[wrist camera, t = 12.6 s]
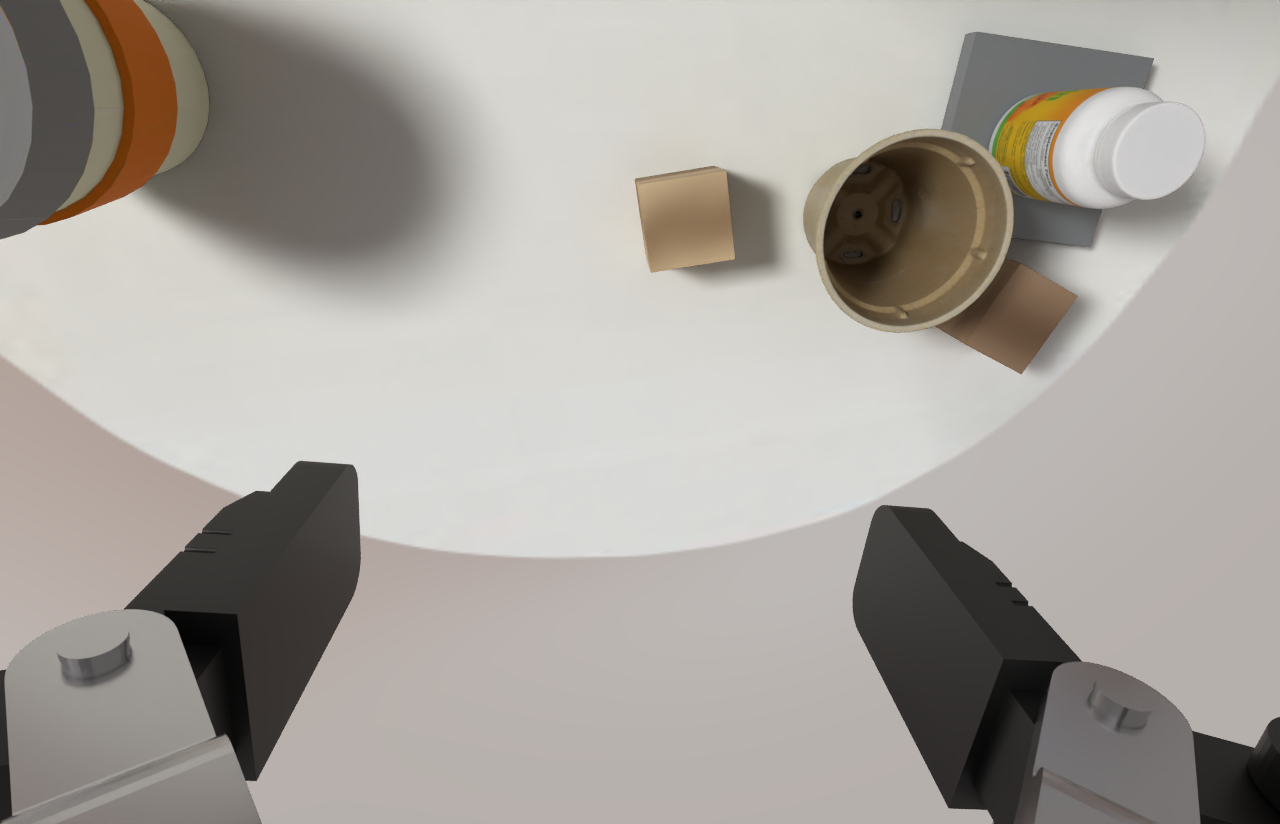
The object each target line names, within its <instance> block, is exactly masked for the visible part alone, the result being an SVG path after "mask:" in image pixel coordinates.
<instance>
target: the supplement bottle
mask: <svg viewBox="0 0 1280 824" xmlns="http://www.w3.org/2000/svg"><path fill="white" fill-rule="evenodd" d="M1204 147H1205V130H1204V126H1203V123H1202V121H1201V119H1200V117H1199V116H1198V114H1197V113H1196V112H1195V111H1194V110H1193V109H1192V108H1190V107H1188V106H1186V105H1184V104H1181V103H1177V102H1164V101H1163V100H1162V99H1161V98H1160V97H1159V96H1157V95H1156V94H1154V93H1152V92H1150V91H1148V90H1145V89H1142V88H1136V87H1111V88H1097V89H1082V90H1070V91H1057V92H1046V93H1039V94H1035V95H1032V96H1029V97H1027V98H1025V99H1023V100H1021V101H1019V102H1018V103H1016V104H1015V105H1014V106H1012V107H1011V108H1010V109H1009V110H1008V111H1007V112H1006V113H1005V114H1004V115H1003V117H1002V118H1001V119H1000V121H999V122H998V124H997V126H996V127H995V130H994V132H993V134H992V137H991V141H990V144H989V152H990V153H991V154H992V155H993V157H994V158H995V159H996V160H997V161H998V163H999V164H1000V166H1001V168H1002V169H1003V171H1004V173H1005V176H1006V178H1007V182H1008V185H1009V187H1010V190H1011V193H1012V194H1014V195H1017V196H1021V197H1025V198H1031V199H1037V200H1043V201H1049V202H1055V203H1061V204H1067V205H1073V206H1078V207H1085V208H1094V209H1108V208H1114V207H1118V206H1122V205H1125V204H1127V203H1129V202H1132V201H1133V200H1135V199H1138V200H1152V199H1157V198H1161V197H1164V196H1166V195H1168V194H1170V193H1172V192H1174V191H1175V190H1177V189H1178V188H1180V187H1181V186H1182V185H1183V184H1184V183H1185V182H1186V181H1187V180H1188V179H1189V178H1190V177H1191V175H1192V174H1193V173H1194V171H1195V170H1196V168H1197V166H1198V164H1199V163H1200V160H1201V158H1202V155H1203V152H1204Z"/></svg>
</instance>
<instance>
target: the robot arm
mask: <svg viewBox="0 0 1280 824" xmlns="http://www.w3.org/2000/svg"><path fill="white" fill-rule="evenodd" d="M360 555H361V552H360V525H359V499H358V478H357V473H356V469H355V467H354V466H353V465H350V464H336V463H323V462H309V461H299V462H297V463H296V464H295V465H294V466H293V467H292V468H291V469H290V470H289V471H288V472H287V474H286V475H285V476H284V477H283V478H282V479H281V480H280V481H279V482H278V484H277V485H276V486H275V487H274V488H273V489H272V490H271V491H270V492H264V491H255V492H253V493H251V494H249V495H247V496H245V497H243V498H241V499H240V500H238V501H236V502H234V503H232V504H230V505H228V506H226V507H224V508H223V509H222V510H221V511H220V512H219V513H218V514H217V515H216V516H215V517H214V518H213V519H212V520H211V521H210V522H209V523H208V524H207V525H206V526H205V527H204V528H203V531H202V533H198V534H197V535H196V536H195V537H194V538H193V539H192V540H191V541H190V542H189V543H188V544H187V545H186V546H185V551H184V552H179V554H178V555H177V556H176V557H175V558H174V559H173V560H172V561H171V562H170V563H169V564H168V565H167V566H166V567H165V568H164V569H163V570H162V571H161V572H160V573H159V574H158V575H157V576H156V577H155V578H154V579H153V580H152V581H151V582H150V583H149V584H148V585H147V586H146V587H145V588H144V589H143V590H142V591H141V592H140V593H139V594H138V595H137V596H136V597H135V599H133V600H132V601H131V602H130V604H128V605H127V607H125V608H124V609H123V610H113V611H107V612H101V613H97V614H92V615H88V616H85V617H81V618H78V619H75V620H72V621H70V622H67V623H65V624H63V625H60V626H58V627H56V628H54V629H52V630H50V631H48V632H46V633H44V634H42V635H41V636H39V637H37V638H36V639H35V640H33V641H32V642H30V643H29V644H28V645H26V646H25V647H24V648H23V649H22V650H21V651H20V652H19V653H18V654H17V655H16V656H15V657H14V658H13V660H12V661H11V662H10V664H9V666H8V668H7V669H6V670H1V671H0V824H262V823H261V820H260V818H259V815H258V812H257V810H256V807H255V804H254V802H253V799H252V796H251V794H250V791H249V789H248V786H247V783H246V781H257V779H258V777H259V775H260V773H261V771H262V769H263V767H264V766H265V764H266V762H267V760H268V758H269V756H270V754H271V752H272V750H273V748H274V746H275V744H276V743H277V741H278V739H279V737H280V735H281V733H282V731H283V729H284V727H285V725H286V723H287V721H288V719H289V718H290V716H291V714H292V712H293V710H294V708H295V706H296V704H297V703H298V701H299V699H300V697H301V695H302V693H303V691H304V689H305V687H306V685H307V683H308V682H309V680H310V678H311V676H312V674H313V672H314V670H315V668H316V666H317V664H318V662H319V661H320V659H321V657H322V655H323V652H324V651H325V649H326V647H327V645H328V643H329V641H330V640H331V638H332V636H333V634H334V632H335V630H336V628H337V626H338V624H339V622H340V620H341V619H342V617H343V615H344V613H345V611H346V609H347V607H348V605H349V603H350V601H351V599H352V597H353V595H354V592H355V589H356V586H357V582H358V577H359V571H360V560H361V556H360ZM853 615H854V620H855V624H856V627H857V629H858V631H859V633H860V635H861V637H862V639H863V641H864V643H865V645H866V647H867V649H868V651H869V653H870V655H871V657H872V659H873V661H874V662H875V665H876V667H877V669H878V671H879V673H880V674H881V676H882V678H883V680H884V682H885V684H886V686H887V688H888V690H889V692H890V694H891V696H892V698H893V700H894V702H895V704H896V706H897V708H898V710H899V712H900V714H901V716H902V718H903V720H904V721H905V723H906V726H907V727H908V729H909V731H910V733H911V735H912V737H913V739H914V741H915V743H916V745H917V747H918V749H919V751H920V753H921V755H922V757H923V759H924V761H925V763H926V764H927V767H928V769H929V770H930V772H931V774H932V776H933V778H934V780H935V782H936V784H937V786H938V788H939V790H940V792H941V794H942V796H943V798H944V800H945V802H946V804H947V806H948V808H953V809H982V810H988V812H989V813H990V815H991V817H992V819H993V823H992V824H1280V717H1278V718H1276V719H1273V720H1272V721H1271V722H1270V723H1269V724H1268V726H1267V727H1266V729H1265V731H1264V733H1263V735H1262V736H1261V738H1260V740H1259V742H1258V744H1257V745H1256V747H1255V748H1253V747H1249V746H1246V745H1242V744H1238V743H1234V742H1231V741H1227V740H1224V739H1220V738H1216V737H1212V736H1208V735H1205V734H1202V733H1198V732H1194V731H1192V729H1191V727H1190V725H1189V723H1188V721H1187V719H1186V718H1185V717H1184V715H1183V714H1182V713H1181V712H1180V711H1179V710H1178V709H1177V707H1176V706H1175V705H1173V703H1171V702H1170V701H1169V700H1168V699H1167V698H1166V697H1164V696H1163V695H1162V694H1160V693H1159V692H1158V691H1156V690H1155V689H1153V688H1152V687H1150V686H1148V685H1147V684H1145V683H1144V682H1142V681H1140V680H1138V679H1136V678H1134V677H1132V676H1130V675H1128V674H1126V673H1123V672H1121V671H1118V670H1116V669H1113V668H1110V667H1107V666H1103V665H1099V664H1094V663H1089V662H1082V661H1081V660H1080V659H1079V657H1078V656H1077V655H1076V654H1075V653H1074V652H1073V651H1072V650H1071V649H1070V647H1069V646H1068V645H1067V644H1066V643H1065V642H1064V641H1063V640H1062V639H1061V637H1060V636H1059V635H1058V634H1057V633H1056V632H1055V631H1054V630H1053V628H1052V627H1051V626H1050V625H1049V624H1048V623H1047V622H1046V621H1045V620H1044V619H1043V617H1042V616H1041V615H1040V614H1039V613H1038V612H1037V611H1036V610H1035V608H1034V607H1033V606H1028V601H1027V600H1026V598H1025V597H1024V596H1023V595H1022V594H1021V593H1020V592H1019V591H1018V590H1017V588H1014V587H1012V583H1011V582H1010V581H1009V580H1008V578H1007V577H1006V576H1005V575H1004V574H1003V573H1002V572H1001V571H1000V569H999V568H998V567H997V566H996V565H995V564H994V563H993V562H992V561H991V560H989V559H988V558H986V557H985V556H983V555H982V554H980V553H979V552H977V551H976V550H974V549H973V548H971V547H970V546H968V545H967V544H965V543H964V542H960V541H959V540H958V539H957V538H956V537H955V536H954V534H953V533H952V532H951V531H950V530H949V529H948V527H947V526H946V525H945V524H944V523H943V522H942V520H941V519H940V518H939V517H938V516H937V515H936V514H935V512H933V511H932V510H931V509H927V508H915V507H901V506H888V505H882V506H880V507H879V508H878V509H877V510H876V511H875V513H874V515H873V518H872V521H871V525H870V528H869V533H868V536H867V540H866V544H865V548H864V551H863V556H862V559H861V563H860V567H859V571H858V574H857V578H856V582H855V586H854V592H853Z"/></svg>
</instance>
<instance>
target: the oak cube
mask: <svg viewBox="0 0 1280 824" xmlns="http://www.w3.org/2000/svg"><path fill="white" fill-rule="evenodd" d="M635 184H636V191H637V198H638V205H639V212H640V218H641V225H642V232H643V239H644V246H645V253H646V259H647V262H648V265H649V268H650V271H651V273H652V272H658V271H664V270H670V269H677V268H683V267H689V266H695V265H702V264H708V263H714V262H720V261H727V260H733V259H735V253H734V243H733V233H732V223H731V213H730V203H729V193H728V183H727V173H726V170H723V169H721V168H718V167H715V166H710V167H704V168H698V169H692V170H686V171H680V172H673V173H667V174H661V175H655V176H649V177H642V178H636V179H635Z"/></svg>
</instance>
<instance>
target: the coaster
mask: <svg viewBox="0 0 1280 824" xmlns="http://www.w3.org/2000/svg"><path fill="white" fill-rule="evenodd" d="M1153 60H1154V58H1148V57H1141V56H1134V55H1128V54H1121V53H1114V52H1108V51H1101V50H1094V49H1088V48H1081V47H1075V46H1068V45H1061V44H1055V43H1048V42H1041V41H1035V40H1028V39H1022V38H1015V37H1008V36H1002V35H995V34H988V33H982V32H973V33H969V34H966V35H965V39H964V43H963V47H962V51H961V54H960V58H959V62H958V66H957V70H956V74H955V78H954V82H953V86H952V90H951V93H950V97H949V101H948V105H947V109H946V113H945V117H944V121H943V125H942V129H941V130H947V131H952V132H956V133H960V134H962V135H965V136H968V137H969V138H971V139H973V140H974V141H976V142H978V143H979V144H981V145H982V146H983V147H985V148H986V149H987V150H988V151H989V144H990V141H991V137H992V134H993V132H994V130H995V127H996V126H997V124H998V122H999V121H1000V119H1001V118H1002V117H1003V115H1004V114H1005V113H1006V112H1007V111H1008V110H1009V109H1010V108H1011V107H1012V106H1014V105H1015V104H1016V103H1018V102H1019V101H1021V100H1023V99H1025V98H1027V97H1029V96H1032V95H1035V94H1039V93H1046V92H1057V91H1070V90H1082V89H1097V88H1111V87H1136V88H1142V89H1144V86H1145V83H1146V80H1147V78H1148V75H1149V72H1150V69H1151V66H1152V63H1153ZM1012 198H1013V208H1014V218H1013V219H1014V224H1013V232H1012V237H1011V238H1019V239H1027V240H1035V241H1043V242H1051V243H1059V244H1067V245H1076V246H1084V247H1089V246H1090V243H1091V240H1092V237H1093V234H1094V231H1095V228H1096V225H1097V222H1098V219H1099V217H1100V214H1101V211H1102V209H1094V208H1085V207H1078V206H1073V205H1067V204H1061V203H1055V202H1049V201H1043V200H1037V199H1031V198H1025V197H1021V196H1017V195H1014V194H1012Z"/></svg>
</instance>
